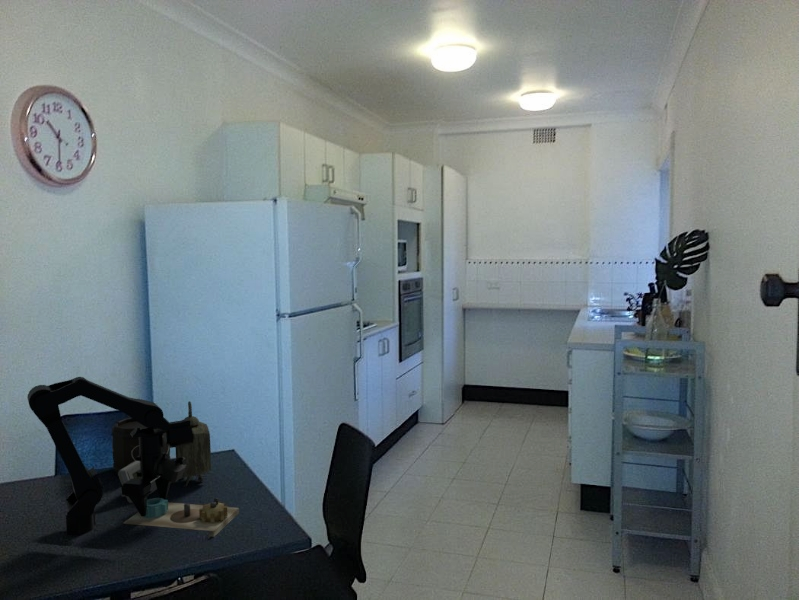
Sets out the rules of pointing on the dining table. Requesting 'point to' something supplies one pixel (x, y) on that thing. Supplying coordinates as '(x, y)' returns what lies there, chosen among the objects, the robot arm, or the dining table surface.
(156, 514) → the teal gear
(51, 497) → the dining table surface
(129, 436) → the brown round pot
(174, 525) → the gear board
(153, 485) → the digital clock
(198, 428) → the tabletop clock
